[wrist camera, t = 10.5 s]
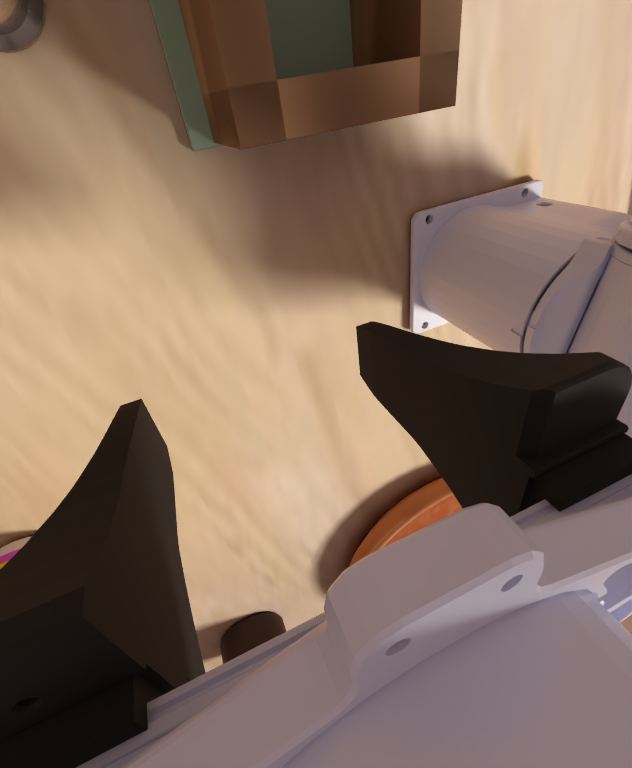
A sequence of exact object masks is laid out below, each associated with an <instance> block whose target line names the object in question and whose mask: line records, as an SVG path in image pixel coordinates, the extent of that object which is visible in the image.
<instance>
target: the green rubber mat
mask: <svg viewBox="0 0 632 768" xmlns="http://www.w3.org/2000/svg"><path fill="white" fill-rule="evenodd" d="M149 2H150V5H151V9H152V12H153V16H154V19H155V23H156V26H157V30H158V33H159V37H160V40H161V44H162V47H163V50H164V54H165V57H166V61H167V64H168V68H169V71H170V75H171V78H172V82H173V85H174V89H175V92H176V96H177V99H178V103H179V106H180V110H181V113H182V117H183V120H184V124H185V127H186V130H187V134H188V137H189V141H190V144H191V148H192V150H193V151H198V150H203V149H208V148H213V147H218V146H223V145H222V144H218V143H214V140H213V136H212V132H211V128H210V124H209V121H208V117H207V113H206V109H205V105H204V101H203V97H202V93H201V89H200V85H199V81H198V77H197V73H196V70H195V66H194V62H193V58H192V54H191V50H190V46H189V42H188V38H187V34H186V30H185V26H184V22H183V19H182V15H181V11H180V7H179V3H178V0H149ZM265 5H266V11H267V18H268V24H269V30H270V37H271V43H272V50H273V56H274V62H275V69H276V75H277V80H280V79H286V78H292V77H298V76H304V75H310V74H316V73H322V72H328V71H334V70H340V69H346V68H352V67H353V50H352V34H351V17H350V1H349V0H265Z"/></svg>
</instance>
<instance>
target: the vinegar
mask: <svg viewBox="0 0 632 768" xmlns="http://www.w3.org/2000/svg"><path fill="white" fill-rule="evenodd" d="M285 632H286V629H285V626H284V623H283V619H282V618H281V616H279V615H278V614H276V613H270V612H266V613H259V614H255V615H252V616H250V617H247V618H245V619H243V620H241V621H239V622H238V623H236V624H235V625H233V626H232V627H231V628H230V629H229V630H228V631H227V632H226V633H225V635H224V636H223V638H222V639H221V645H220V649H221V654H222V660H223V664H224V663H226V662H228V661H230V660H232V659H234V658H236V657H238V656H240V655H242V654H244V653H246V652H248V651H250V650H252V649H254V648H256V647H258V646H259V645H261V644H263V643H265V642H267V641H269V640H271V639H273V638H275V637H277V636H279V635H281V634H283V633H285Z"/></svg>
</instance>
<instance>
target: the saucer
mask: <svg viewBox="0 0 632 768" xmlns="http://www.w3.org/2000/svg"><path fill="white" fill-rule="evenodd" d="M461 509H463V508H462V507H461V505H460V504H459V502H458V501H457V499H456V497H455V496H454V494H453V493H452V491H451V490H450V488H449V487H448V485H447V484H446V482H445V481H444V479H443V478H439V479H437V480H435V481H432V482H430V483H428V484H426V485H424V486H422V487H421V488H419V489H417V490H416V491H414V492H412V493H411V494H409V495H408V496H406V497H405V498H404V499H402V500H401V501H399V502H398V503H397V504H396V505H394V506H393V507H392V508H391V509H390V510H389V511H387V512H386V513H385V514H384V515H383V516H382V517H381V519H380V520H379V521H378V522H377V523H376V524H375V525H374V527H373V528H372V529H371V530H370V532H369V533H368V535H367V536H366V538H365V539H364V540H363V542H362V543H361V545H360V546H359V548H358V549H357V551H356V552H355V554H354V556H353V558H352V560H351V562H350V565H349V567H350V566H351V565H353V564H354V563H356V562H357V561H359V560H361V559H362V558H364V557H365V556H367V555H369V554H371V553H373V552H375V551H377V550H379V549H381V548H384V547H386V546H388V545H390V544H392V543H394V542H396V541H398V540H400V539H402V538H404V537H406V536H408V535H410V534H412V533H414V532H416V531H418V530H420V529H422V528H424V527H426V526H428V525H431V524H433V523H435V522H437V521H439V520H441V519H443V518H445V517H447V516H449V515H451V514H453V513H455V512H457V511H459V510H461Z"/></svg>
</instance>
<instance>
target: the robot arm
mask: <svg viewBox="0 0 632 768" xmlns="http://www.w3.org/2000/svg"><path fill="white" fill-rule="evenodd" d="M543 185H544V184H543V182H542V181H541V180H532V181H529V182H525V183H521V184H518V185H514V186H510V187H507V188H503V189H499V190H496V191H492V192H488V193H485V194H481V195H477V196H473V197H470V198H466V199H462V200H459V201H455V202H451V203H448V204H444V205H440V206H437V207H433V208H429V209H426V210H422V211H418V212H416V213H415V214H414V215H413V217H412V220H411V272H410V330H411V331H412V332H413V333H411V332H408V331H405V330H402V329H398V328H395V327H392V326H389V325H385V324H382V323H378V322H373V321H372V322H369V323H366V324H363V325H360V326H357V327H356V330H357V342H358V354H359V366H360V375H361V377H362V378H363V380H364V381H365V383H366V384H367V386H368V387H369V389H370V390H371V392H372V393H373V395H374V396H375V397H376V398H377V399H378V401H379V402H380V403H381V404H382V405H383V406H384V407H385V408H386V409H387V410H388V412H389V413H390V414H391V415H392V416H393V417H394V418H395V419H396V420H397V421H398V422H399V423H400V425H401V426H402V427H403V428H404V429H405V430H406V431H407V432H408V433H409V434H410V435H411V436H412V438H413V439H414V440H415V441H416V442H417V444H418V445H419V446H420V447H421V449H422V450H423V451H424V453H425V454H426V455H427V457H428V458H429V460H430V461H431V462H432V464H433V465H434V466H435V468H436V469H437V471H438V472H439V474H440V475H441V477H442V478H443V479H444V481H445V482H446V484H447V485H448V487H449V488H450V490H451V491H452V493H453V494H454V496H455V497H456V499H457V501H458V502H459V504H460V505H461V507H462V508H463V509H461V510H459V511H457V512H455V513H453V514H451V515H449V516H447V517H445V518H443V519H441V520H439V521H437V522H435V523H433V524H431V525H428V526H426V527H424V528H422V529H420V530H418V531H416V532H414V533H412V534H410V535H408V536H406V537H404V538H402V539H400V540H398V541H396V542H394V543H392V544H390V545H388V546H386V547H384V548H381V549H379V550H377V551H375V552H373V553H371V554H369V555H367V556H365V557H364V558H362V559H361V560H359V561H357V562H356V563H354V564H353V565H351V566H350V567H348V568H347V569H345V570H344V571H343V572H342V573H341V574H340V575H339V577H338V578H337V579H336V580H335V581H334V582H333V583H332V585H331V586H330V587H329V589H328V592H327V595H326V600H325V605H324V611H325V612H324V613H322V614H320V615H318V616H316V617H314V618H312V619H310V620H308V621H306V622H304V623H302V624H300V625H299V626H297V627H295V628H293V629H291V630H289V631H287V632H285V633H283V634H281V635H279V636H277V637H275V638H273V639H271V640H269V641H267V642H265V643H263V644H261V645H259V646H258V647H256V648H254V649H252V650H250V651H248V652H246V653H244V654H242V655H240V656H238V657H236V658H234V659H232V660H230V661H228V662H226V663H224V664H222V665H220V666H219V667H217V668H215V669H213V670H211V671H209V672H207V673H205V669H204V665H203V661H202V657H201V652H200V648H199V644H198V639H197V635H196V631H195V626H194V622H193V617H192V613H191V608H190V603H189V598H188V593H187V588H186V584H185V579H184V573H183V568H182V563H181V557H180V552H179V545H178V536H177V522H176V508H175V493H174V480H173V471H172V467H171V462H170V457H169V453H168V449H167V445H166V443H165V442H164V440H163V438H162V436H161V434H160V432H159V431H158V429H157V427H156V425H155V423H154V421H153V419H152V418H151V416H150V414H149V412H148V410H147V408H146V406H145V405H144V403H143V401H142V399H139V400H136V401H133V402H130V403H127V404H124V405H121V406H120V408H119V409H118V411H117V413H116V415H115V417H114V419H113V421H112V422H111V424H110V426H109V428H108V430H107V432H106V434H105V436H104V438H103V439H102V441H101V443H100V445H99V446H98V448H97V450H96V452H95V454H94V455H93V457H92V458H91V460H90V462H89V463H88V465H87V466H86V468H85V470H84V471H83V473H82V474H81V476H80V477H79V479H78V480H77V482H76V483H75V485H74V486H73V488H72V489H71V490H70V492H69V493H68V494H67V496H66V497H65V498H64V500H63V501H62V502H61V503H60V505H59V506H58V507H57V509H56V510H55V511H54V512H53V513H52V515H51V516H50V517H49V518H48V519H47V520H46V521H45V523H44V524H43V525H42V526H41V527H40V528H39V529H38V530H37V532H36V533H35V534H34V535H33V536H32V537H31V538H30V539H29V540H28V542H27V543H26V544H25V545H24V546H23V547H22V548H21V549H20V550H19V551H18V552H17V553H16V554H15V555H14V556H13V557H12V558H11V559H10V560H9V561H8V562H7V563H6V564H5V565H4V566H3V567H2V568H1V569H0V768H632V635H631V634H630V633H629V632H628V631H627V630H626V629H625V628H624V627H623V626H622V625H621V624H620V622H622V621H623V620H624V619H626V618H627V617H628V616H630V615H631V614H632V216H631V215H629V214H625V213H621V212H615V211H610V210H605V209H599V208H594V207H588V206H583V205H578V204H572V203H567V202H561V201H556V200H551V199H545V198H541V197H542V192H543ZM522 191H523V194H522ZM428 215H429V220H428V221H427V222H426V221H425V220H426V217H427V216H428ZM424 322H425V324H424V325H423V326H422V324H423V323H424ZM449 322H450V323H452V324H453V325H455V326H456V327H458V328H460V329H461V330H463V331H464V332H466V333H468V334H469V335H471V336H472V337H474V338H476V339H477V340H479V341H480V342H482V343H484V344H485V345H487V346H488V347H490V348H492V349H493V350H487V349H480V348H474V347H468V346H462V345H457V344H453V343H448V342H444V341H440V340H436V339H432V338H429V337H425V336H422V335H418V333H421V332H424V331H427V330H430V329H432V328H435V327H438V326H441V325H444V324H447V323H449Z"/></svg>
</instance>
